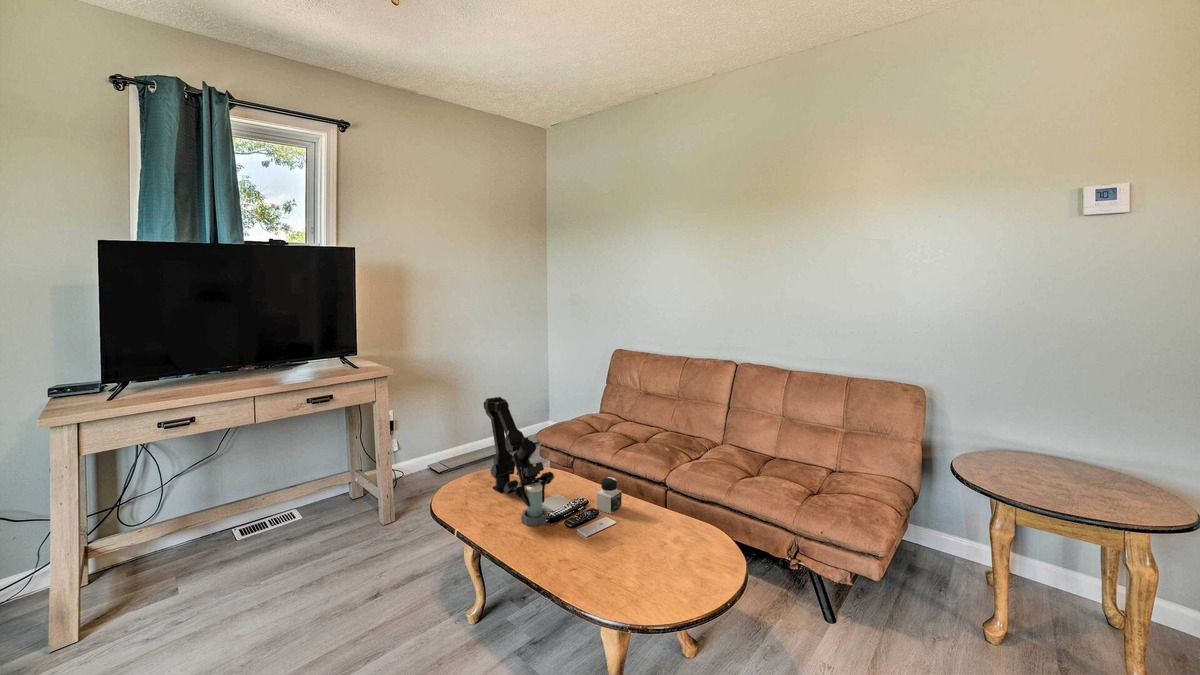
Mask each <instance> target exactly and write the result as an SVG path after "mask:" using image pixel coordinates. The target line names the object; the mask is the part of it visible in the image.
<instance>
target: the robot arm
mask: <svg viewBox="0 0 1200 675" xmlns="http://www.w3.org/2000/svg"><path fill="white" fill-rule="evenodd" d="M509 407H510V406H509V403H508V401H507V399H504V398H502V397H501V396H497V397H490V398H489V397H488V398H485V400H484V401H483V409H484V410H485V415H487V417H488V418H489V419H490V423H491V429H492V433H493V434H492V435H493V442H494V448H495V456H494V458H493V460H492V461H493V465H492V467H491V468H490V475H491V476H492V477H493V478H494V479H495V485H494V486H492V489H494V490H495V491H497V492H499V493H504V495H510V494H511V495H512V494H513V495H515V496H517V497H518V498H519V499H520V500H521V501H522V502H523V503H524V504H525V505H526V507H527V506H528V507H529V506H530V503H529V500H528V498H527V491H526V488H525V487H527V485H529V484H531V483H539V484H541V485H542V503H544V499H545V489H546V485H549V484H551V483H552V482H553V480H554V479H555V475H554V473H553V472H552V471H547V472H543V471H544V470H545V468H544V467H545V466H544V464H543V462H542V461H540V462H536V463H535V466H534V464H533V463H531V461H530V459H531V458H532V457H533V455H534V453H535V452H536V449H537V445H536V443H535V442H534V441H533V440H531V439H529V437H525V435H524V434H523V431H521V430H519V429H518V428H517V426H516V424H515V420H514V418H513V416H512V414H511V411H510V409H509ZM512 452H514V453H512ZM515 468H516V469H515ZM515 470H516V475H517V476H518V478H519V480H517V479H514V480H511V475H514V474H515ZM541 472H543V473H542V474H541ZM540 474H541V475H540ZM538 475H540V476H539V477H538Z"/></svg>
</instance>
